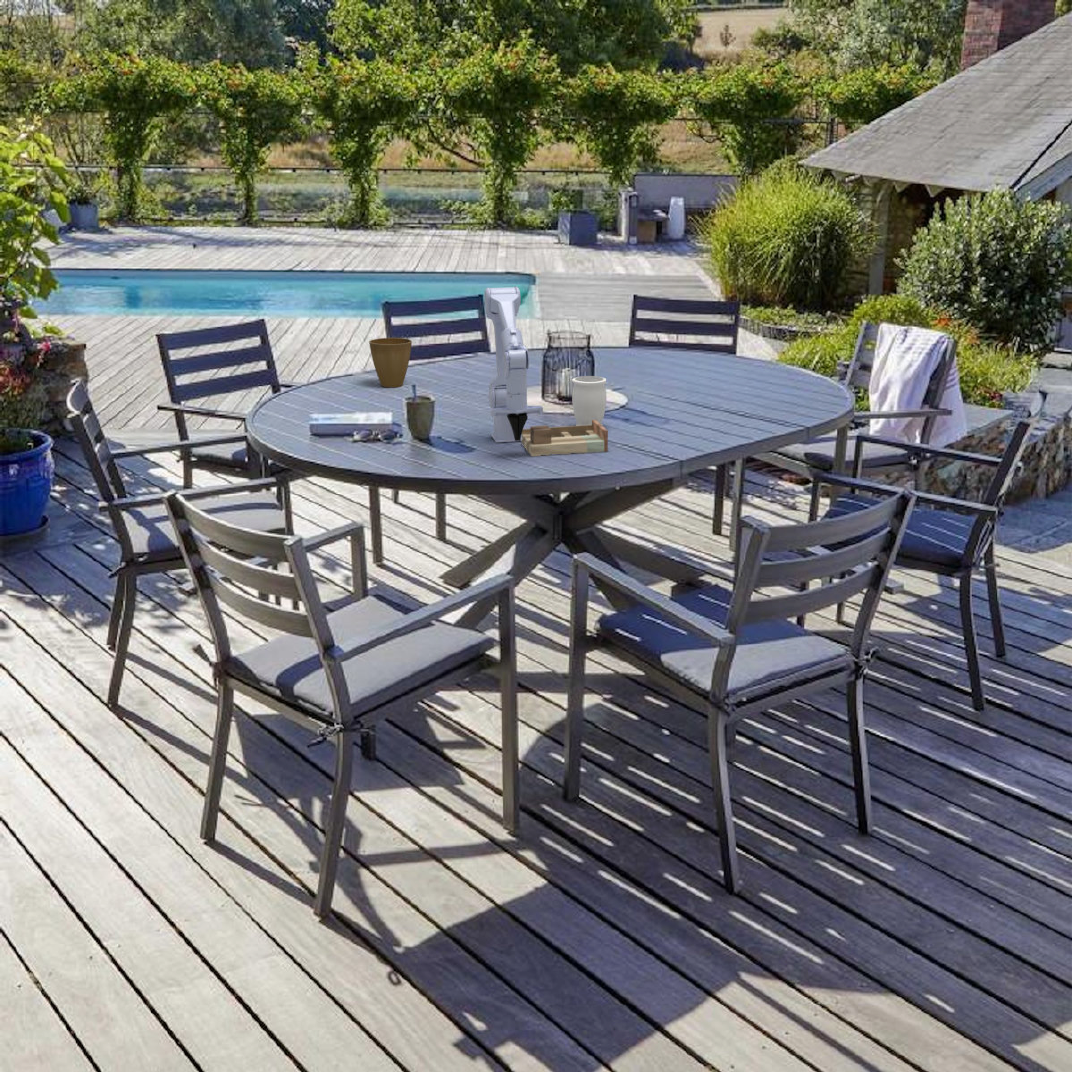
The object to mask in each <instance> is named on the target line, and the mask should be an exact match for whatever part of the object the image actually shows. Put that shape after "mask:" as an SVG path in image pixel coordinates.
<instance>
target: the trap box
mask: <svg viewBox="0 0 1072 1072" xmlns="http://www.w3.org/2000/svg"><path fill="white" fill-rule="evenodd" d="M602 425H603V424H602ZM602 425H601V424H600V423H599V422H597V421H596V420H592V425H582V426H576V425H570V426H554V427H553V426H552V427H551V426H549V428H550V429H551V443H550V444H533V443H532V441H531V440H530V428H523V430H522V434H521V438H522V441H521V445H522V444H523V445H524V446H523V445H522V446H523V448H524V449H525V448H526V449H525V450H526V451H527V453H528V454H529V453H530V454H531V455H530V454H529V455H530V456H531V457H541V455H546V456H550V455H549V454H561V455H571V453H577V454H590V453H606V452H607V453H608V451H609V450H608V449H609V445H608V443H609V442H608V441H609V439H608V438H609V430H608V429H606V428H605V427H604V426H602Z"/></svg>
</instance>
